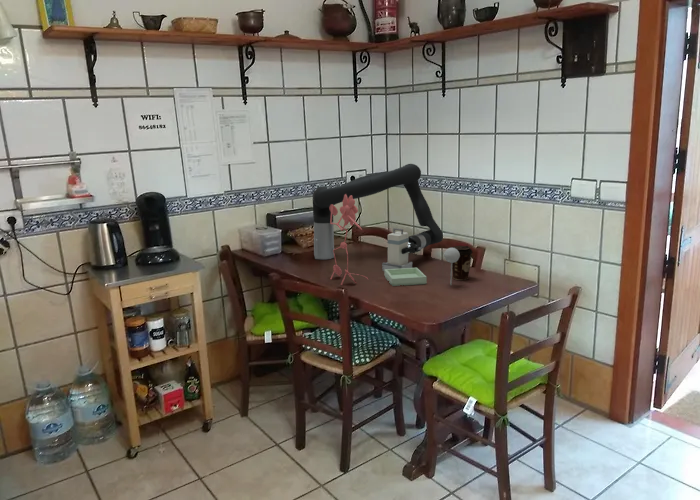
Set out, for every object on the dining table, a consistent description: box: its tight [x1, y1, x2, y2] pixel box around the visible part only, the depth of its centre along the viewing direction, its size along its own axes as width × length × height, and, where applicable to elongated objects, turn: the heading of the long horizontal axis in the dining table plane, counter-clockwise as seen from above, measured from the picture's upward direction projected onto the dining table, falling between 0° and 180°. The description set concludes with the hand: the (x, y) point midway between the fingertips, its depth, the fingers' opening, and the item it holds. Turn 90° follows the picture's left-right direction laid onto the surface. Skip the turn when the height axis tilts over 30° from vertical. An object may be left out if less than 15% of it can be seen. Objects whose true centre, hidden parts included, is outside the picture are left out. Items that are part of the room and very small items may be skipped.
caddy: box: [387, 227, 409, 266], centre depth 235 cm, size 8×6×18 cm
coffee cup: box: [452, 245, 474, 281], centre depth 222 cm, size 9×8×13 cm
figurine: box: [329, 194, 369, 286], centre depth 219 cm, size 15×26×35 cm, turn 29°
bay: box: [381, 261, 413, 272], centre depth 236 cm, size 10×9×4 cm
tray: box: [383, 267, 428, 287], centre depth 221 cm, size 14×14×3 cm
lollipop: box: [443, 247, 460, 286], centre depth 213 cm, size 6×6×15 cm
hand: (395, 250), depth 233 cm, fingers open, 6 cm apart
